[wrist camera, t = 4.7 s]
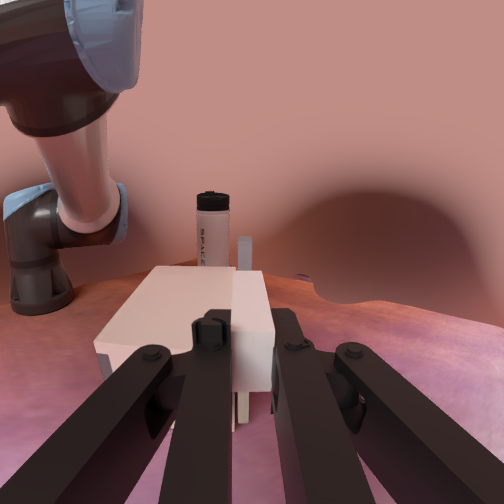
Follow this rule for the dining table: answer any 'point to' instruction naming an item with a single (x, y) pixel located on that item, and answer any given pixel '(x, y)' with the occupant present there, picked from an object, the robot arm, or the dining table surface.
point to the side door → (244, 265)
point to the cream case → (164, 313)
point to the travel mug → (213, 229)
